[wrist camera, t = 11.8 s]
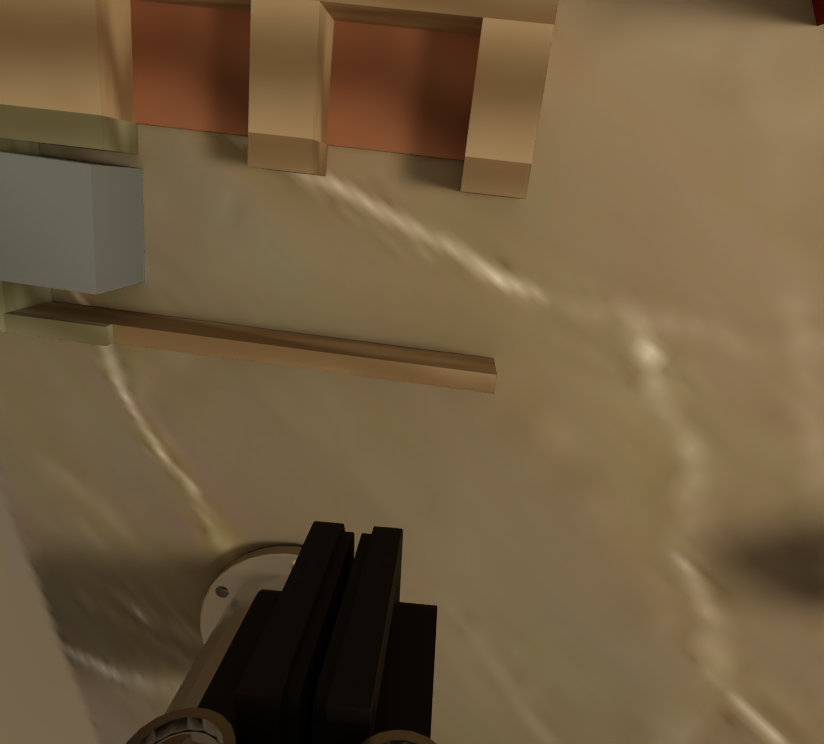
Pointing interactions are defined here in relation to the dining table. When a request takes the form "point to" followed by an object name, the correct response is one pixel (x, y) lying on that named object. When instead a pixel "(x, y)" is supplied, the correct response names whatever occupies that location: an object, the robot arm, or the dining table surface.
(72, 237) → the block
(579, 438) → the dining table surface
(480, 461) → the dining table surface
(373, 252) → the dining table surface
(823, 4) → the french fries
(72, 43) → the channel
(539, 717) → the dining table surface
